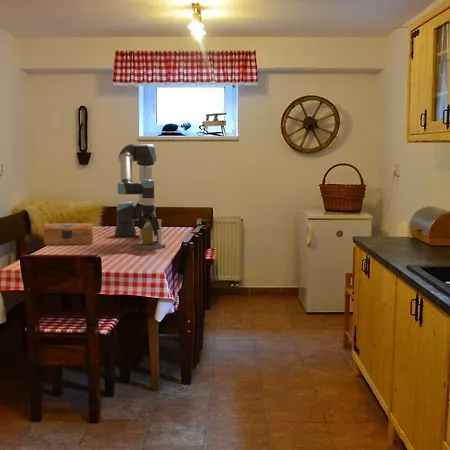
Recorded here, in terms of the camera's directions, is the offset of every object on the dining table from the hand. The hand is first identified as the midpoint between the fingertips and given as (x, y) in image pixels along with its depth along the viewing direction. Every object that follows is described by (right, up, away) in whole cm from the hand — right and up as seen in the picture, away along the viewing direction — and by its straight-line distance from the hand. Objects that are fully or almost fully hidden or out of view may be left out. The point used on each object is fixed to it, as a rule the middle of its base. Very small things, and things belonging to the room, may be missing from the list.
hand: (148, 240), depth 374 cm
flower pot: (0, -2, 0) cm, 2 cm away
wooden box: (-53, -4, +14) cm, 55 cm away
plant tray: (0, -5, +1) cm, 5 cm away
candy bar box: (0, -4, +19) cm, 19 cm away
